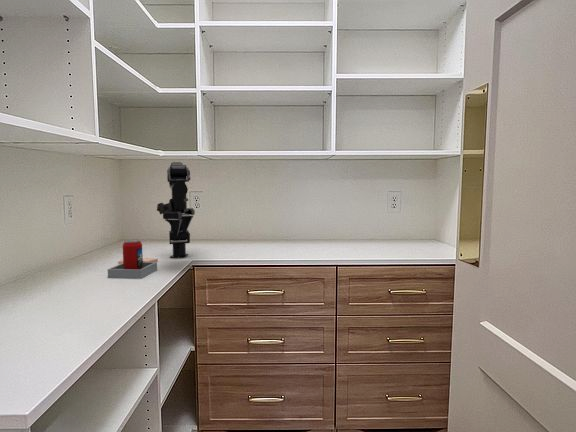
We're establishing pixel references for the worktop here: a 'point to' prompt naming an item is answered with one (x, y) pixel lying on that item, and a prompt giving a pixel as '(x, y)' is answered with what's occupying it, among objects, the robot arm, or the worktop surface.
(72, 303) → the worktop surface
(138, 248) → the beverage can
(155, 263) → the tray
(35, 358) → the worktop surface
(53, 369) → the worktop surface
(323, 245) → the worktop surface
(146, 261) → the tile
